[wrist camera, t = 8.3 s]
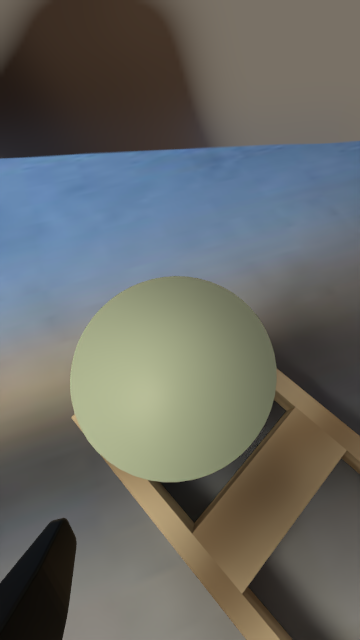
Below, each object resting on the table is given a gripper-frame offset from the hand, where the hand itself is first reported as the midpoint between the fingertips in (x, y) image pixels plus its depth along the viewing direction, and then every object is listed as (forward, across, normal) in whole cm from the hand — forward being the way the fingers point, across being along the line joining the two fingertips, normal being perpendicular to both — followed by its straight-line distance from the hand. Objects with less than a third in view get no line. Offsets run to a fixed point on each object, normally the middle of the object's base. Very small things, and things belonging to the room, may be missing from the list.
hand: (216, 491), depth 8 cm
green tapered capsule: (+8, 0, +4) cm, 9 cm away
